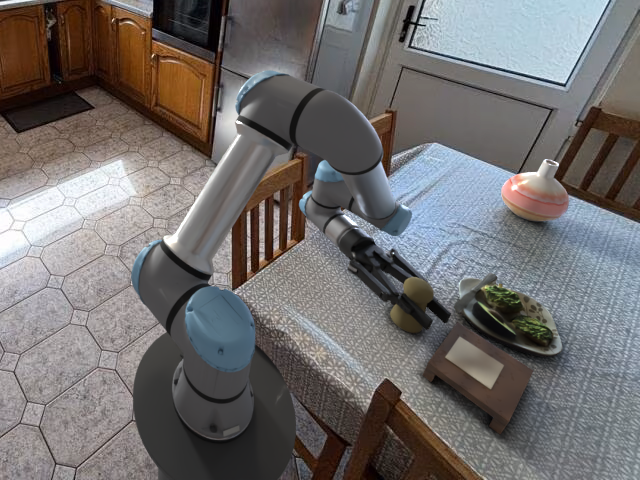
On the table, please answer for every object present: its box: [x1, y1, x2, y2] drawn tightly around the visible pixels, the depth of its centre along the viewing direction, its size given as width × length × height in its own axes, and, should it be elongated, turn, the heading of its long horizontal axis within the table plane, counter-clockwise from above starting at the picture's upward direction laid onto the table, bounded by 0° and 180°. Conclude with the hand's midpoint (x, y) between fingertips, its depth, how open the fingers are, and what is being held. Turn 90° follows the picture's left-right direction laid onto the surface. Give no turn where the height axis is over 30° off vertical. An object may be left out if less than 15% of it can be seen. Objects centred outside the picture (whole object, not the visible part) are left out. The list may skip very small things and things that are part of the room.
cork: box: [389, 277, 435, 334], centre depth 87 cm, size 6×6×11 cm
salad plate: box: [453, 272, 564, 359], centre depth 89 cm, size 19×18×5 cm
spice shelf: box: [421, 321, 535, 435], centre depth 77 cm, size 12×14×4 cm
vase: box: [500, 159, 570, 222], centre depth 114 cm, size 14×14×18 cm
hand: (438, 321), depth 82 cm, fingers closed on cork, 4 cm apart
